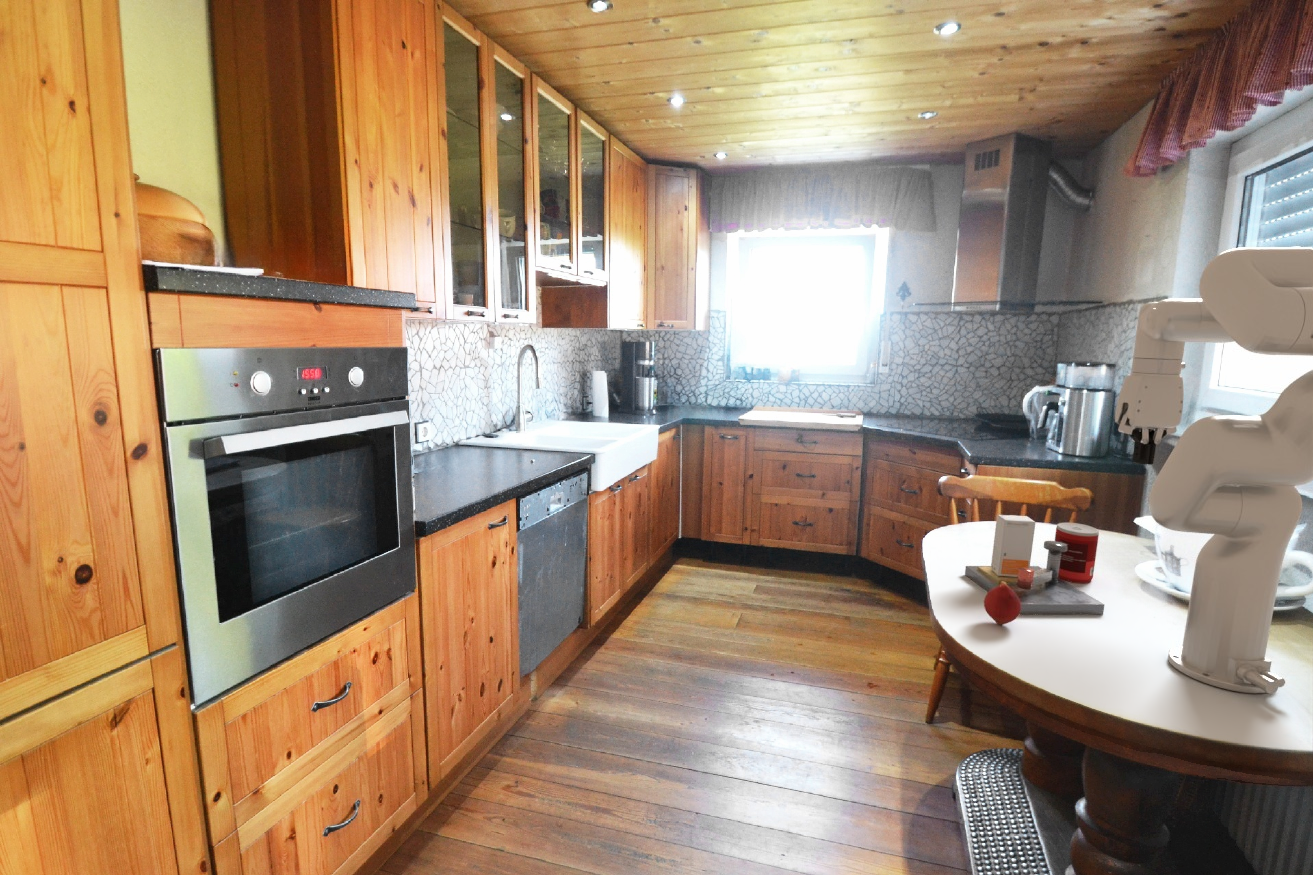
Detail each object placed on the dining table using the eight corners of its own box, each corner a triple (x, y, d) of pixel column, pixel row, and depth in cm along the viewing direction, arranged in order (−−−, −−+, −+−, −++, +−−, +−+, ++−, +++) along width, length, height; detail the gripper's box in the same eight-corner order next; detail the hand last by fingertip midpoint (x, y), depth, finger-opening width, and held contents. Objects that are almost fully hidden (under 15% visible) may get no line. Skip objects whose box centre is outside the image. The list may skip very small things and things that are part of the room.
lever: (1040, 576, 132) (1042, 560, 132) (1053, 580, 130) (1055, 564, 130) (1014, 586, 127) (1016, 568, 127) (1027, 590, 125) (1029, 573, 125)
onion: (1014, 619, 119) (1018, 578, 118) (1022, 633, 114) (1027, 590, 112) (979, 615, 121) (983, 574, 119) (985, 629, 115) (990, 586, 114)
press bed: (1103, 614, 122) (1110, 563, 120) (1019, 614, 121) (1025, 563, 120) (1037, 574, 142) (1042, 530, 140) (964, 574, 141) (969, 530, 139)
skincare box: (997, 576, 133) (1004, 519, 131) (990, 569, 137) (996, 514, 135) (1029, 578, 132) (1036, 521, 130) (1021, 571, 137) (1027, 515, 135)
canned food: (1080, 571, 145) (1086, 523, 143) (1100, 584, 137) (1107, 534, 135) (1043, 569, 145) (1049, 521, 144) (1062, 582, 138) (1068, 532, 136)
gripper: (1177, 367, 128) (1164, 459, 131) (1103, 366, 127) (1091, 459, 130) (1211, 370, 121) (1196, 467, 124) (1133, 368, 120) (1119, 466, 123)
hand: (1142, 462), depth 127 cm, fingers closed
